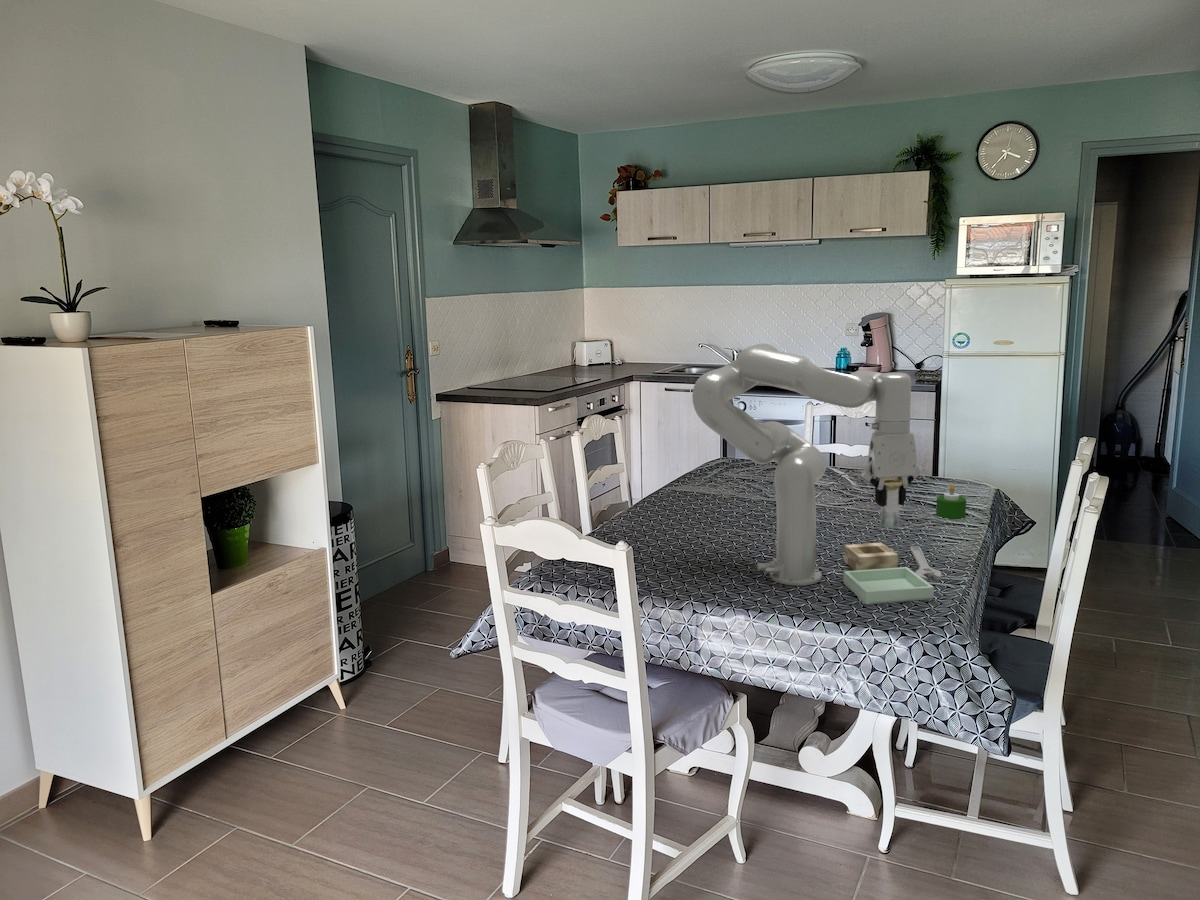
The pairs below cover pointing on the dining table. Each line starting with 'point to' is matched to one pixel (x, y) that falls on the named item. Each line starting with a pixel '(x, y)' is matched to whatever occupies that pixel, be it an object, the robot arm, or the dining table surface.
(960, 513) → the candle
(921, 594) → the tray
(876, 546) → the block
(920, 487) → the dining table surface
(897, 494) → the gold-capped cylinder
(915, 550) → the adjustable wrench
